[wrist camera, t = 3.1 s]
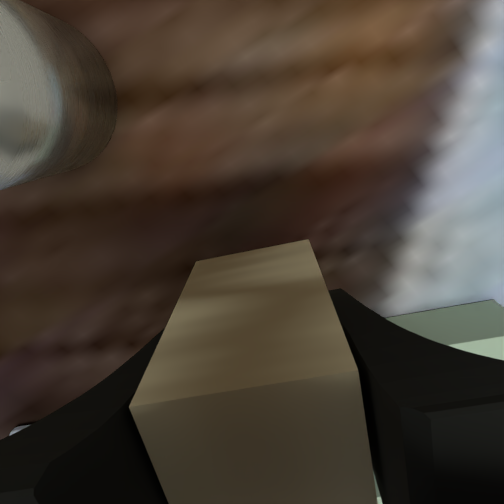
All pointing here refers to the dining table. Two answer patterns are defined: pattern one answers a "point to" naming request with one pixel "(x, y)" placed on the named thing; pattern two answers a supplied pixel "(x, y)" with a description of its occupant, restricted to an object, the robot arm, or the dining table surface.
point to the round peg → (49, 96)
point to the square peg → (256, 388)
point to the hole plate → (459, 330)
